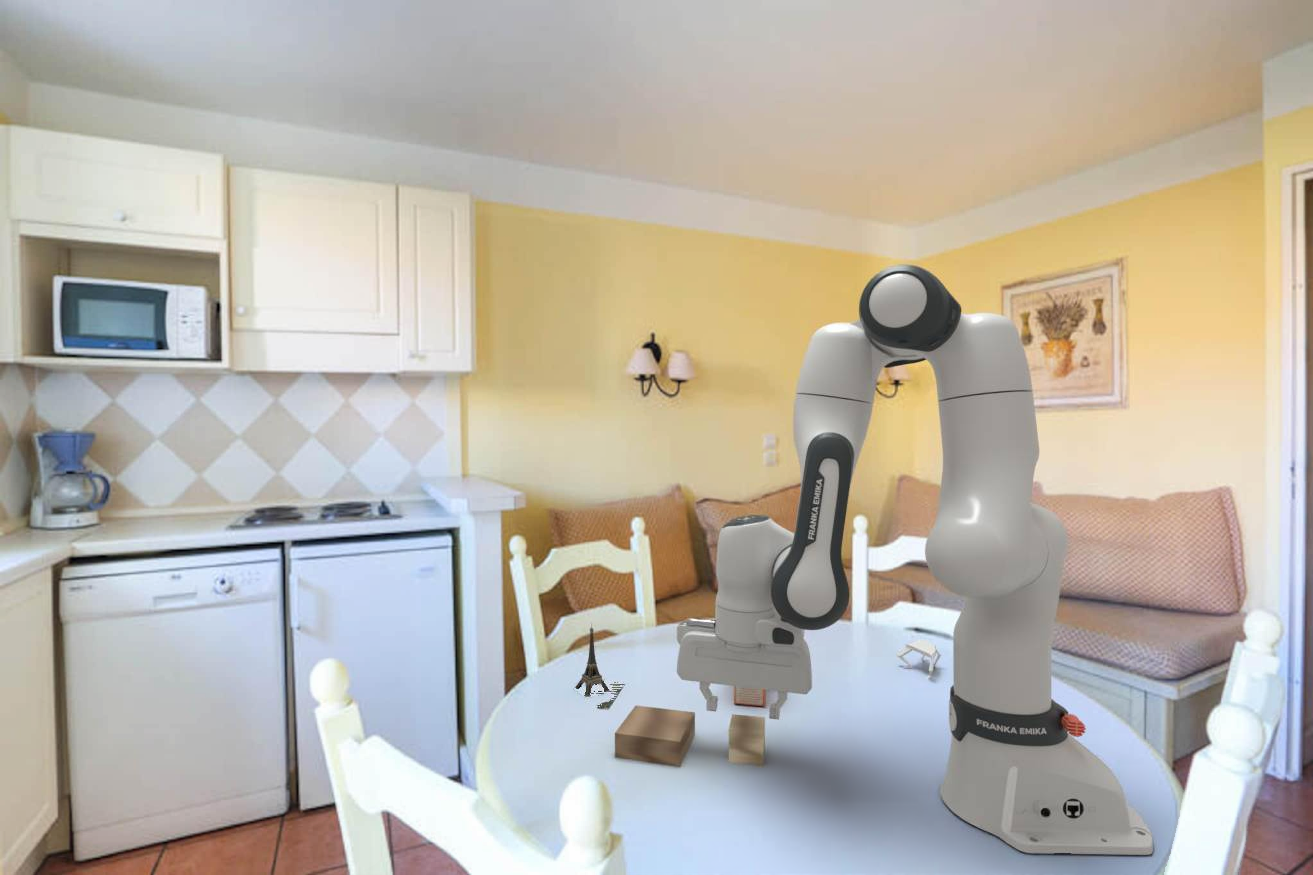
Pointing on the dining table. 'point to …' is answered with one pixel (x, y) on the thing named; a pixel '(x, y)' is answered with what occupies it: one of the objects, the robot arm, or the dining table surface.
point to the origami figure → (924, 649)
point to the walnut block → (655, 735)
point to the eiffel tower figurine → (595, 676)
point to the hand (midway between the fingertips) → (742, 713)
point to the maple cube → (747, 740)
